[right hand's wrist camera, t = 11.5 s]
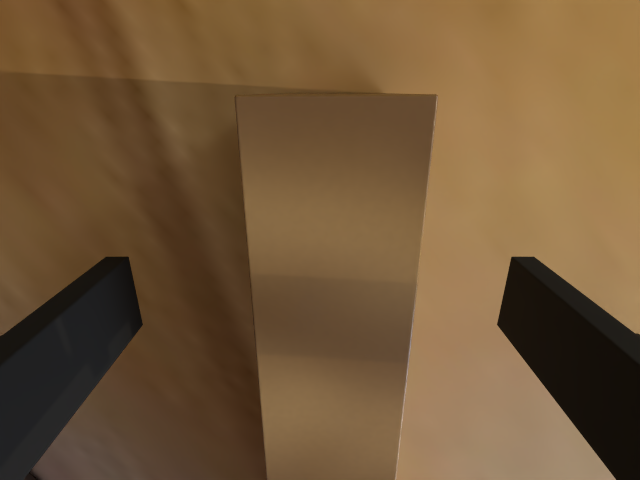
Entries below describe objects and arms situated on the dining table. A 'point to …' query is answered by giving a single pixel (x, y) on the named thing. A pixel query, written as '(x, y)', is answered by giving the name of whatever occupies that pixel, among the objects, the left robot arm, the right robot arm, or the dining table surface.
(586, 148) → the dining table surface
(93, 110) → the dining table surface
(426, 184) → the post
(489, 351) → the dining table surface
